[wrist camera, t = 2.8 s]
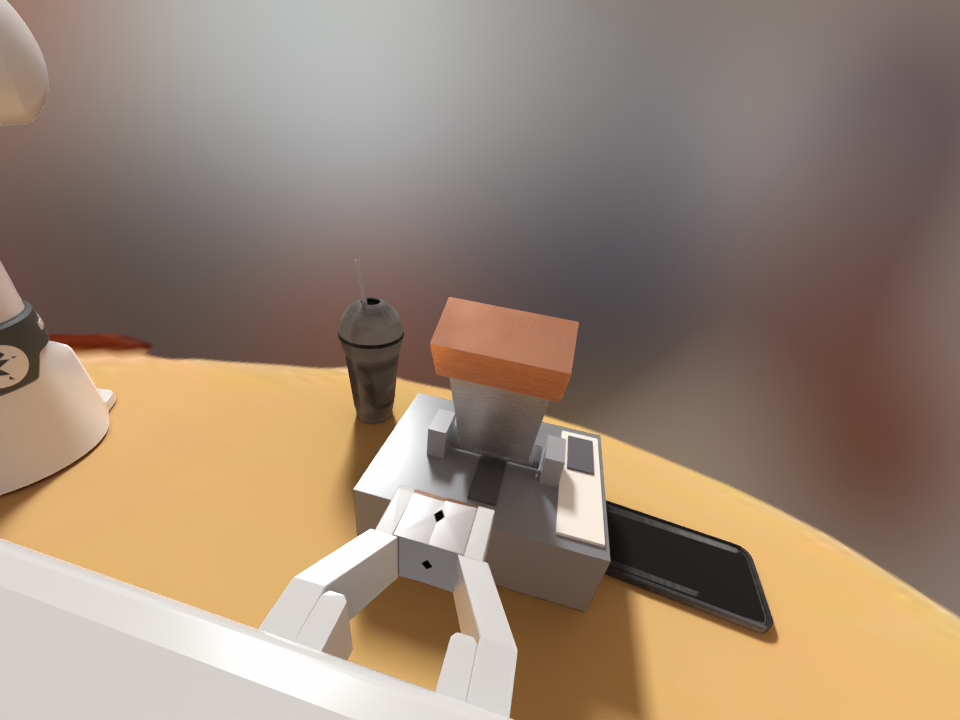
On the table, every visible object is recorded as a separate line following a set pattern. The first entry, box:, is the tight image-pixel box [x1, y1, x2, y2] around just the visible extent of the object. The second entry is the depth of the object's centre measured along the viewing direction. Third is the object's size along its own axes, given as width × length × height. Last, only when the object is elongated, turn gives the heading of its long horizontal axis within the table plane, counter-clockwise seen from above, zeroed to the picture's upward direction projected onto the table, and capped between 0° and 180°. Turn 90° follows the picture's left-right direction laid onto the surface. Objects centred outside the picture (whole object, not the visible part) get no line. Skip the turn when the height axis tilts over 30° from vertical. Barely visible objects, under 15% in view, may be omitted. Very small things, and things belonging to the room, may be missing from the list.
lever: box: [430, 297, 579, 469], centre depth 26 cm, size 8×3×18 cm, turn 77°
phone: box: [605, 501, 773, 633], centre depth 35 cm, size 8×1×15 cm
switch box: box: [353, 393, 611, 612], centre depth 35 cm, size 20×14×10 cm
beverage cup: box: [338, 260, 404, 423], centre depth 43 cm, size 7×7×20 cm
